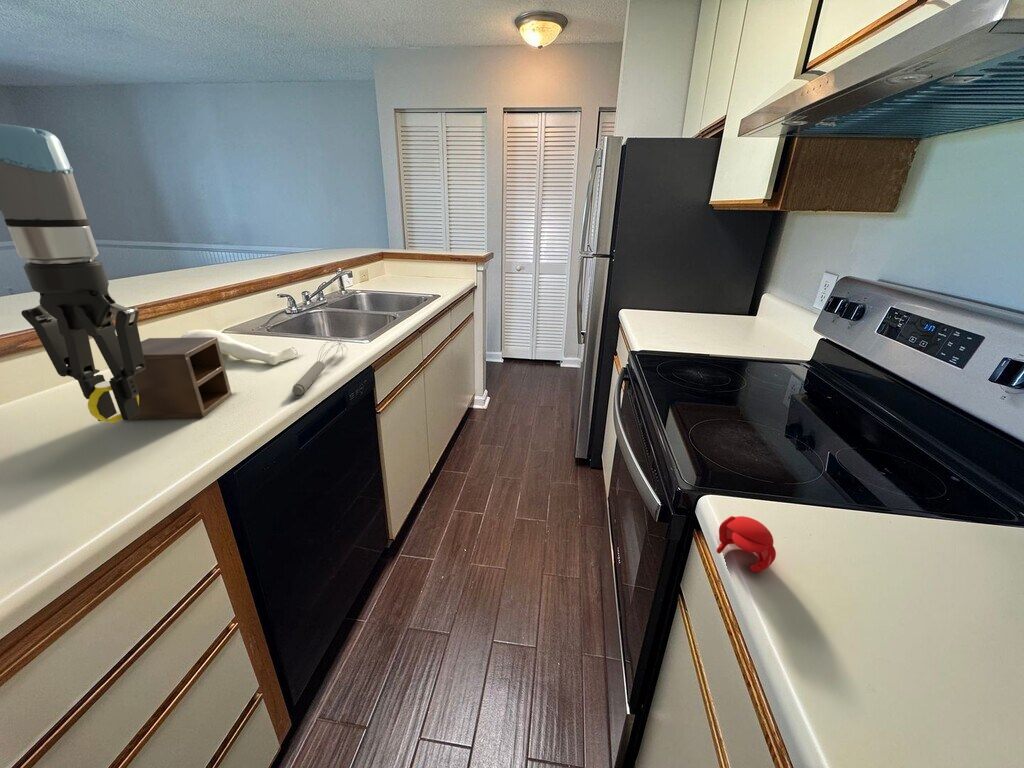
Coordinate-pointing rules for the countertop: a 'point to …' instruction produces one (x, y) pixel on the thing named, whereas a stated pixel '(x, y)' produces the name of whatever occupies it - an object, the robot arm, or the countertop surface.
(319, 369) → the kitchen whisk
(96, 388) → the watch
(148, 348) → the shelf
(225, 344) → the leg
